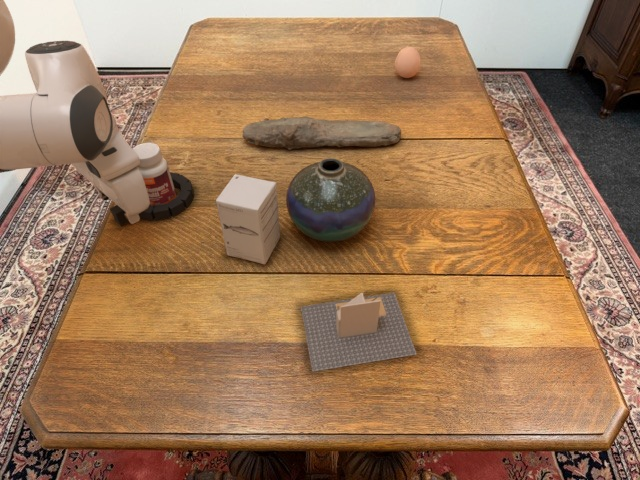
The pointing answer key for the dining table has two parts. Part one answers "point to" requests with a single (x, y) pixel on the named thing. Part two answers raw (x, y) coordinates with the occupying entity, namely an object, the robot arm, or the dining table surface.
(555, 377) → the dining table surface
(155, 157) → the pill bottle
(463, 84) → the dining table surface
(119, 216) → the rubber collar
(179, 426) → the dining table surface
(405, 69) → the egg
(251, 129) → the elongated rock
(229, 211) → the white packaging box
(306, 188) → the vase
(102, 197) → the robot arm
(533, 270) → the dining table surface
